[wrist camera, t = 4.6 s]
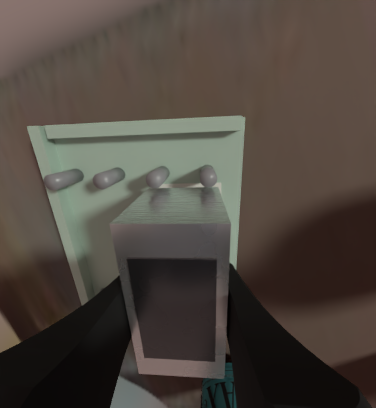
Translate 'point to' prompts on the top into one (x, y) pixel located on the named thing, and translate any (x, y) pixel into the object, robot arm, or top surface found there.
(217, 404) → the beverage bottle
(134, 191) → the tray
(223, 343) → the block
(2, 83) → the top surface
